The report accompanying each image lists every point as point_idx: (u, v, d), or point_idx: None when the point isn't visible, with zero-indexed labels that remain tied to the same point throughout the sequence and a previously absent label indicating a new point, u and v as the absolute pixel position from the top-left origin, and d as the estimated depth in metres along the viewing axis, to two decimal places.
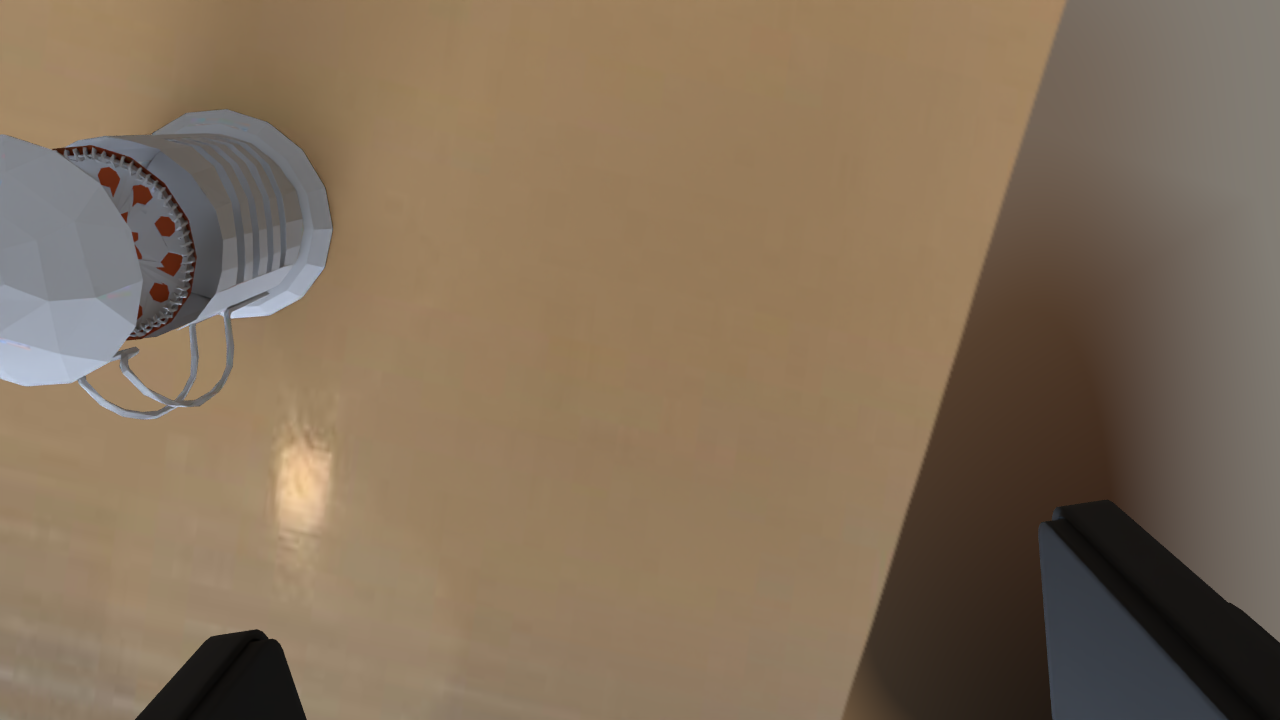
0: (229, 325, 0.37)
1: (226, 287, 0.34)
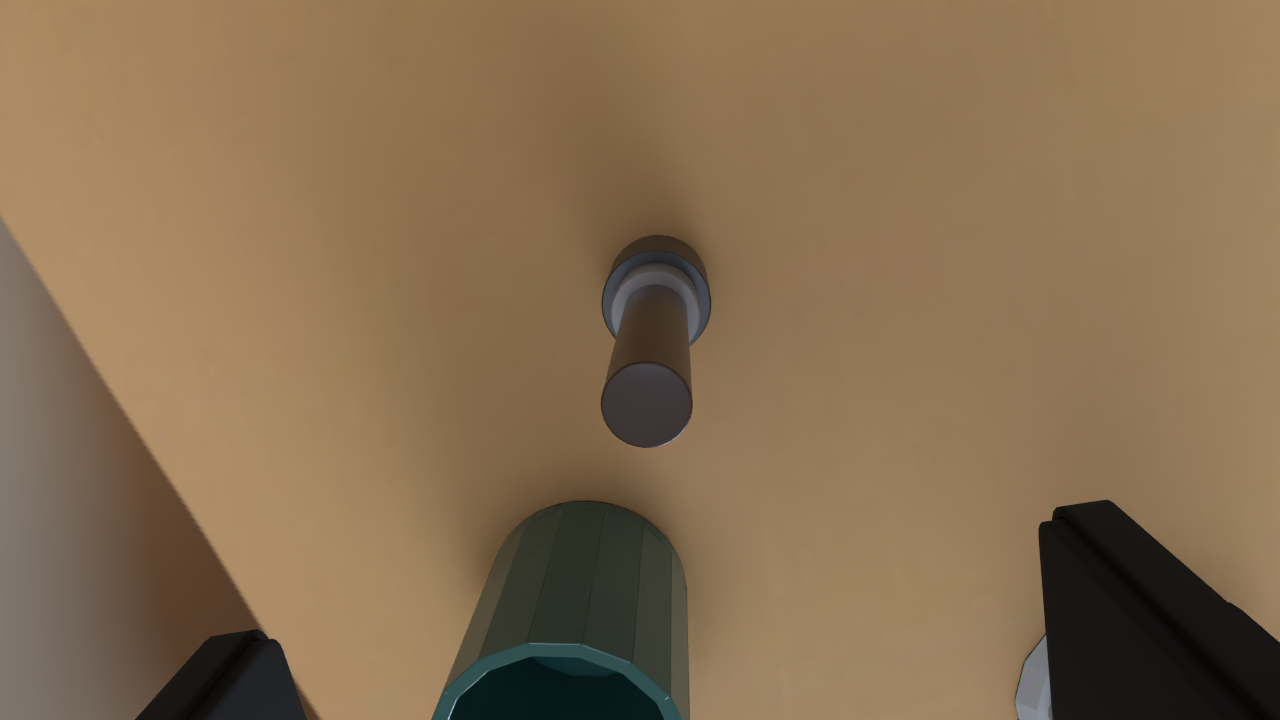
0: None
1: None
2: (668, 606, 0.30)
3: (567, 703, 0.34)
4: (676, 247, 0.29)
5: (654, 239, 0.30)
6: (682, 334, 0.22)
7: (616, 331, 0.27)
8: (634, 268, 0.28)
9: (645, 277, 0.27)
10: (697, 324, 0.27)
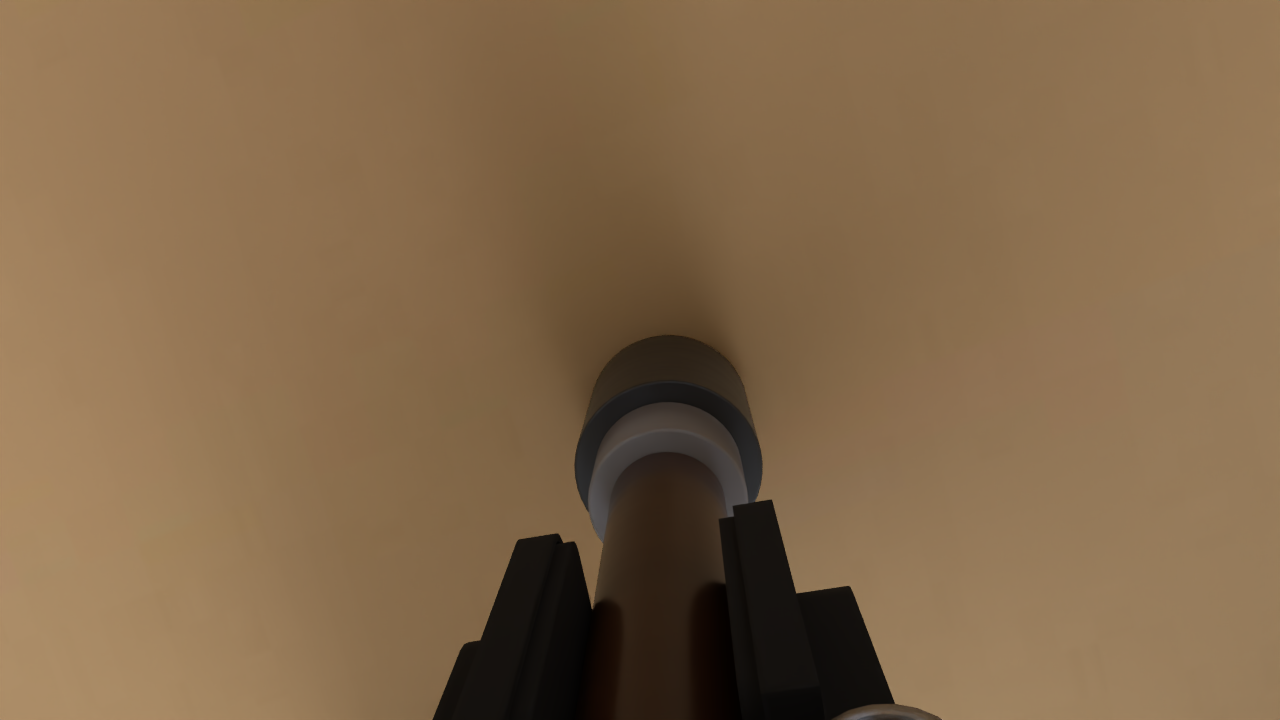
0: None
1: None
2: None
3: None
4: (700, 365, 0.17)
5: (663, 347, 0.18)
6: None
7: (599, 531, 0.15)
8: (630, 411, 0.16)
9: (649, 440, 0.15)
10: None
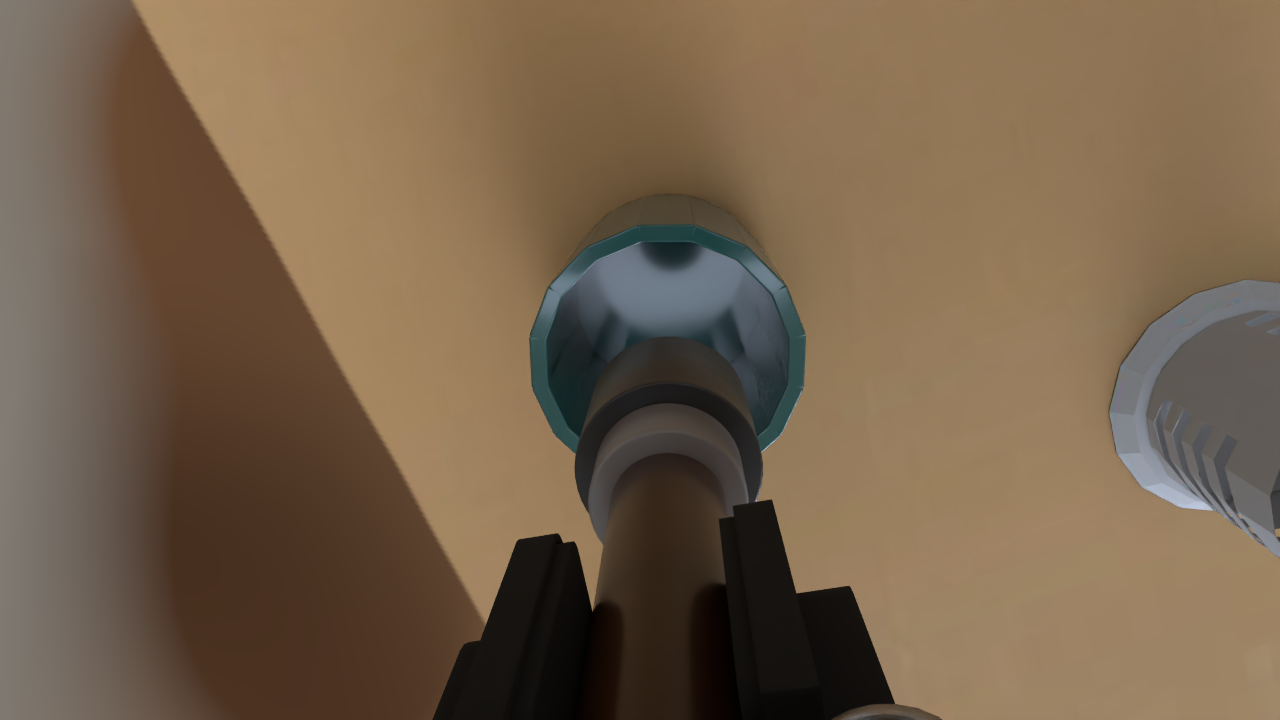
0: None
1: None
2: (766, 256, 0.29)
3: None
4: (700, 366, 0.17)
5: (663, 348, 0.18)
6: None
7: (599, 532, 0.15)
8: (630, 412, 0.16)
9: (650, 441, 0.15)
10: None
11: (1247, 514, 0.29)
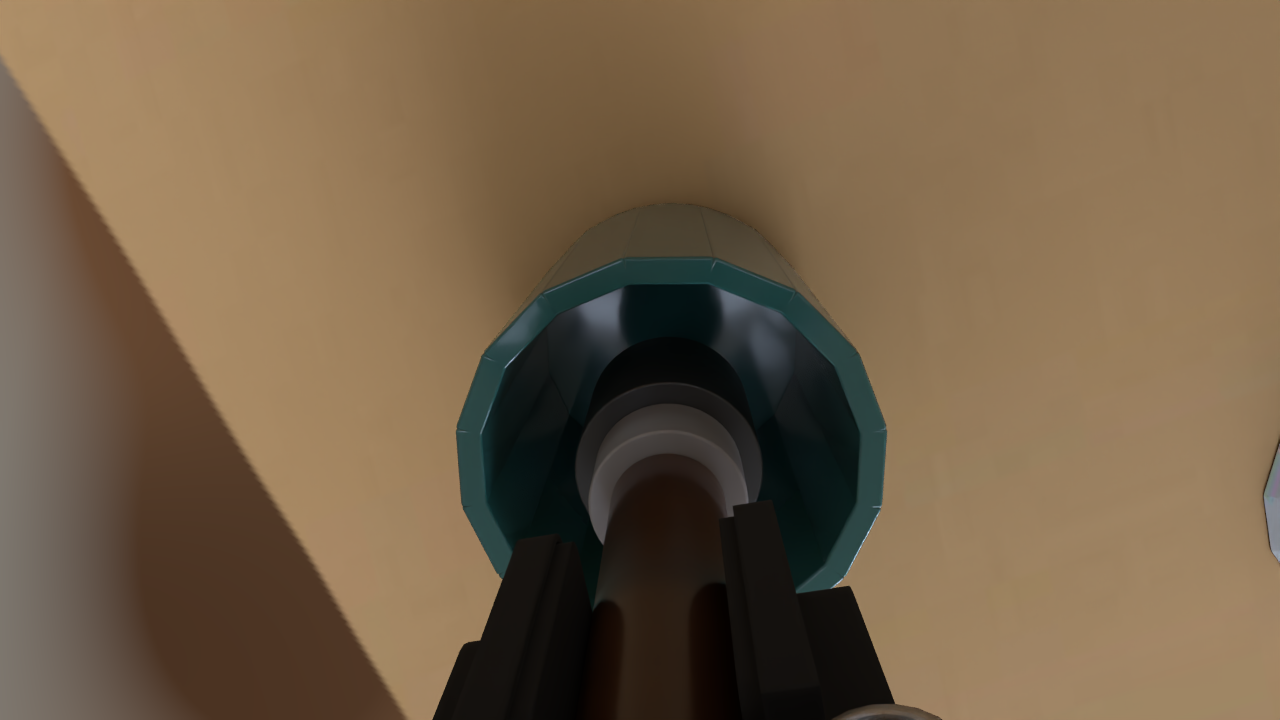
0: None
1: None
2: (813, 295, 0.20)
3: None
4: (700, 366, 0.17)
5: (663, 348, 0.18)
6: None
7: (599, 533, 0.15)
8: (630, 412, 0.16)
9: (650, 441, 0.15)
10: None
11: None
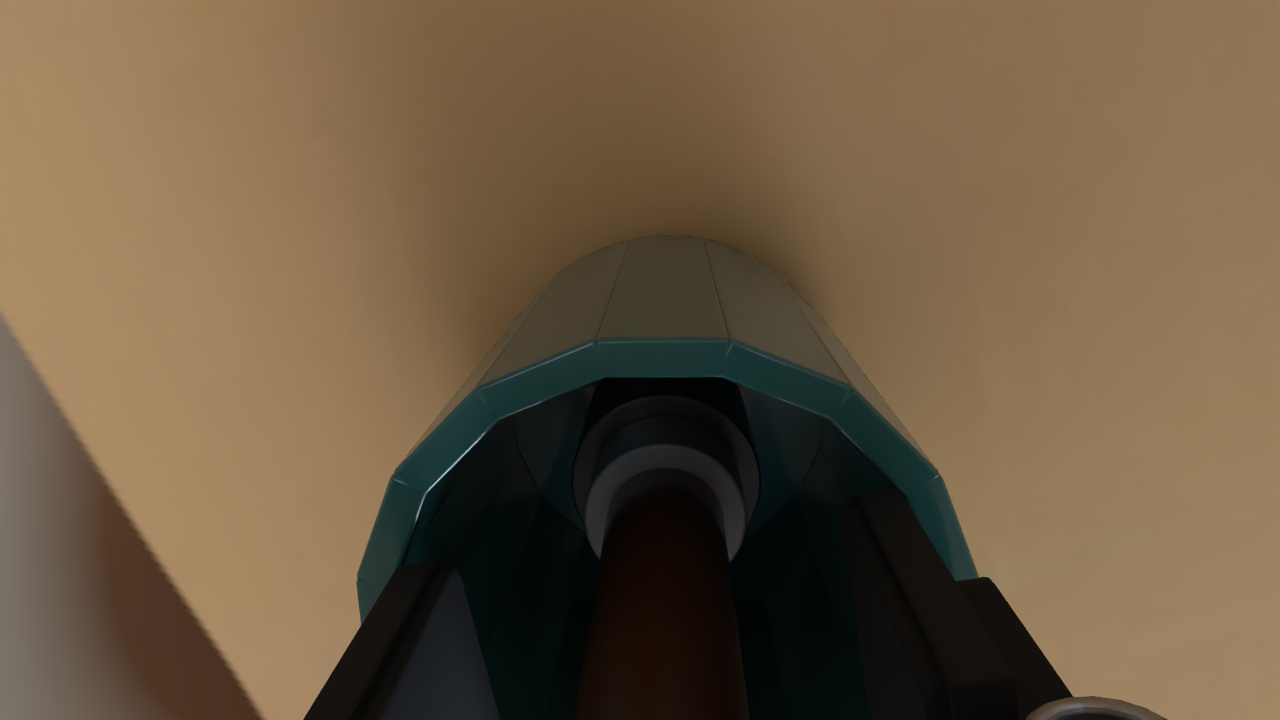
0: None
1: None
2: (855, 365, 0.15)
3: None
4: (698, 377, 0.17)
5: None
6: (729, 650, 0.10)
7: (595, 548, 0.15)
8: (627, 425, 0.16)
9: (646, 455, 0.14)
10: (741, 535, 0.15)
11: None
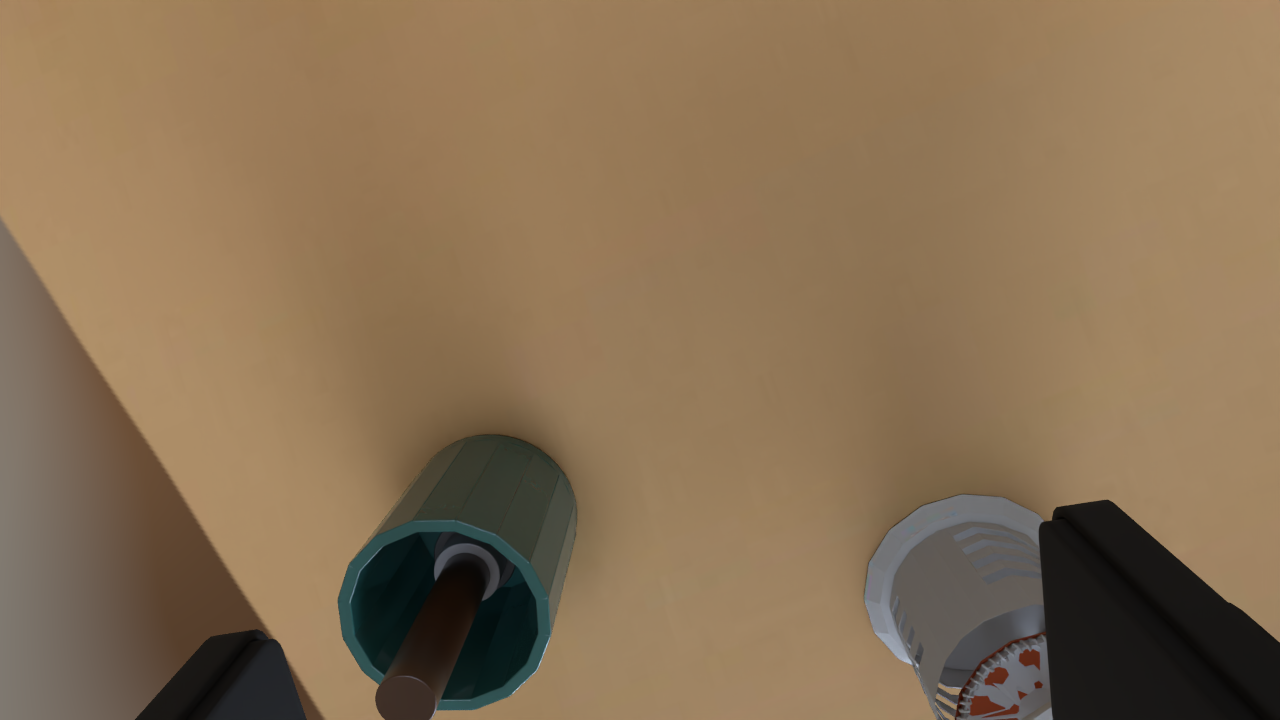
0: None
1: None
2: (545, 508, 0.36)
3: None
4: None
5: None
6: (457, 620, 0.31)
7: None
8: (455, 532, 0.37)
9: (456, 548, 0.36)
10: (498, 579, 0.36)
11: (933, 709, 0.36)
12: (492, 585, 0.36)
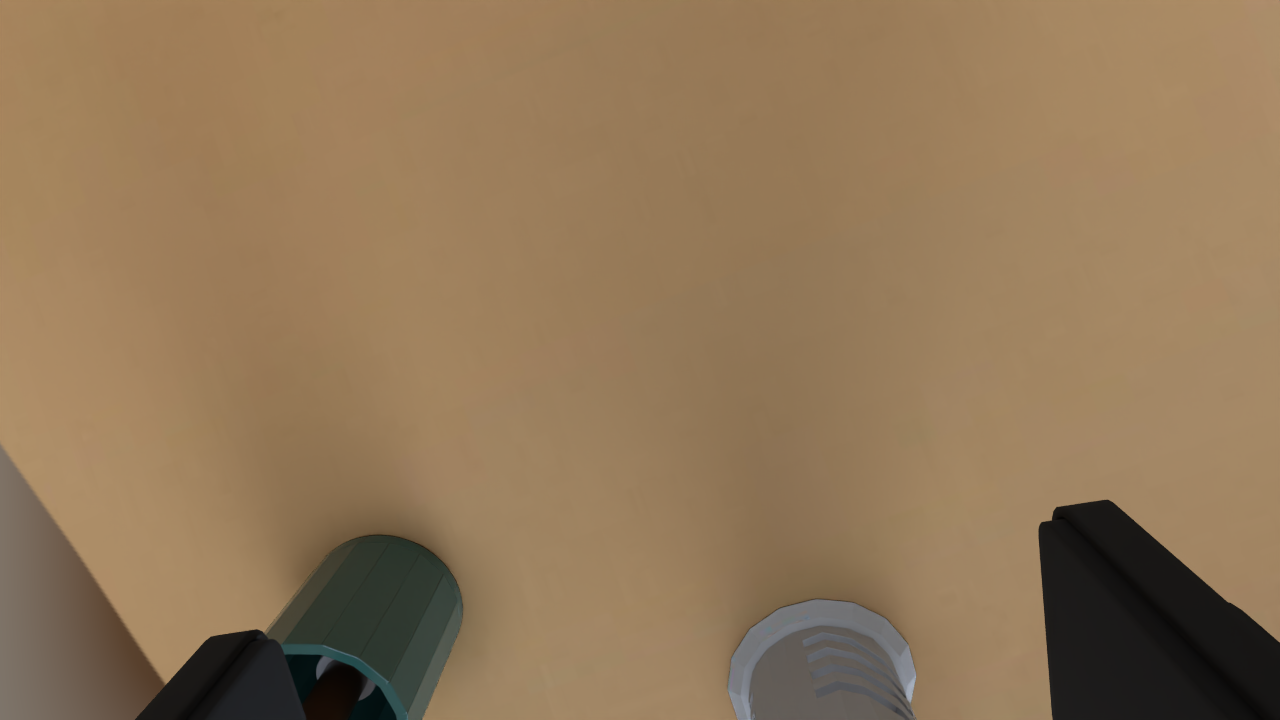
0: None
1: None
2: (419, 616, 0.40)
3: None
4: None
5: None
6: None
7: None
8: None
9: None
10: None
11: None
12: (369, 686, 0.39)
